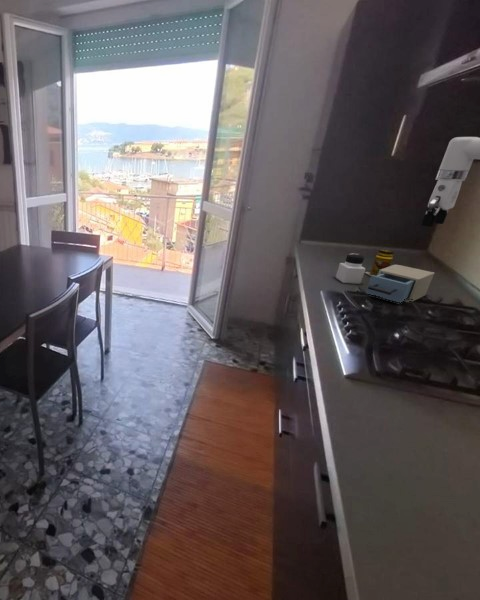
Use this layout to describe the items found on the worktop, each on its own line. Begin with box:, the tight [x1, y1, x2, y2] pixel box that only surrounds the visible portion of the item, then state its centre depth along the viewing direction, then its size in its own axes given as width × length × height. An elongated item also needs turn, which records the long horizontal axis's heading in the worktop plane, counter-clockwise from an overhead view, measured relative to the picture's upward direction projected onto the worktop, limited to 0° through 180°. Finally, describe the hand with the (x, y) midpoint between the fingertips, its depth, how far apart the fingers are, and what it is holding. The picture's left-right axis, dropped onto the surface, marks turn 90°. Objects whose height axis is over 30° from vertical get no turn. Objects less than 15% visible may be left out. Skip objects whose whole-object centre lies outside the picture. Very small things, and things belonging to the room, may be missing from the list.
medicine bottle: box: [335, 253, 367, 285], centre depth 155 cm, size 7×7×12 cm
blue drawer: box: [365, 273, 416, 305], centre depth 136 cm, size 20×11×8 cm, turn 121°
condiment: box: [364, 248, 395, 277], centre depth 162 cm, size 7×8×12 cm
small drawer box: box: [378, 264, 435, 303], centre depth 142 cm, size 15×13×10 cm
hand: (432, 224), depth 131 cm, fingers open, 9 cm apart
